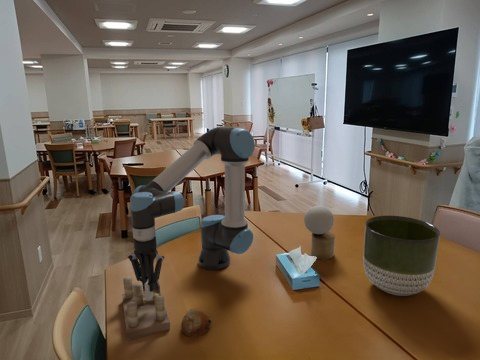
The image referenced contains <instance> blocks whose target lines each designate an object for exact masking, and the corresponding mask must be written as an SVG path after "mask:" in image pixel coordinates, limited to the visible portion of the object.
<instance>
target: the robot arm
mask: <svg viewBox="0 0 480 360" xmlns="http://www.w3.org/2000/svg"><path fill="white" fill-rule="evenodd" d="M252 134H253V133H251V132H250V131H249V130H247V129H246V128H240V127H225V126H224V127H223V126H218V127H213V128H212V129H209V130H208V131H206V132H204V133H203V134H202V135H201V136H199V137H198V138H197V139H196V140H194V141H193V145H192V146H191V147H190V148H188V150H186V151H184V153H183V154H182V155H180V156H179V157H178V158H177V159H175V160H174V161H173V162H172V163H171V164H169V166H167V167H166V168H165V169H164V170H162V172H161V173H160V174H158V175H157V176H156V177H155V178H154V179H153V180H151V181H150V182H148V184H145V185H139V186H137V187H136V188H135V189H134V191H133V194H132V195H131V196H130V199H129V201H130V202H129V203H130V205H129V206H130V207H129V209H130V214H131V215H130V217H131V218H130V219H131V225H132V227H131V230H132V237H133V248H134V250H133V252H132V253H130V254H129V255H128V257H127V258H128V260H129V262H130V263H131V266H132V270H133V273H134V275H135V278H136V280H137V282H140V283H142V290H143V291H145V297H146V300H147V301H150V300H151V299H152V297H153V290H154V289H155V288H154V283H156V282H157V281H158V282H159V279H160V276H161V271H162V264H163V261H164V260H165V256H164V255H162V256H161V255H160V254H159V252H158V250H157V247H158V246H157V237H156V235H157V234H156V233H157V232H156V219H157V218H161V217H165V216H168V215H171V214H175V213H177V212H181V211H182V210H184V207H185V199H184V196H183V194H182V193H181V192H179V191H178V190H177V191H175V190H174V191H171V190H173V188H175V186H177V185H178V184H179V183H180V182H181V181H183V179H184V178H186V177H187V176H188V175H189V174H190V173H192V172H193V170H195V169H196V168H197V167H198V166H199V165H200V164H201V163H203V161H205V160H209V159H210V158H211V157H212V156H215V155H220V161H221V163H223V165H224V215H223V214H212V215H207V216H205V217H203V218H202V219H200V239H201V241H200V242H201V249H200V252H199V256H198V265H199V266H200V268H202V269H204V270H209V271H210V270H211V271H218V270H222V269H225V268H226V267H228V266H229V265H230V264H231V256H230V253H233V254H237V255H242V254H244V253H246V252H247V251H248V250H249V249H250V248H251V246H252V244H253V240H254V232H253V231H252V230H251V229H250V228H249V222H248V220H247V219H246V218H245V210H246V209H245V205H246V204H245V197H246V195H245V194H246V191H245V190H246V189H245V188H246V187H245V186H246V183H245V182H246V164H247V163H248V162H249V160H250V159H249V158H250V157H251V156H252V155H253V153H254V152H255V147H256V144H255V139H254V136H253V135H252ZM229 252H230V253H229ZM154 262H156V263H155V267H154Z"/></svg>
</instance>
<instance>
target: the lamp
mask: <svg viewBox="0 0 480 360" xmlns="http://www.w3.org/2000/svg"><path fill="white" fill-rule="evenodd" d="M334 221H335V219H334V215H333V213H332V211H331V210H330V209H329V208H327V207H326V206H323V205H314V206H312V207H310V208H308V209H307V211H306V212H305V214H304V218H303V222H304V226H305V227H306V230H307V231H309V232H311V242H310V243H311V245H310V246H311V247H310V255H311V254H312V255H311V256H312V257H313V256H316V257H317V258H318V260H323V259H327V260H330V259H329V258H331V259H333V258H334V257H335V246H336V245H335V244H336V243H335V242H336V234H334V233H333V232H330V231H331V230H332V228H333V226H334V224H335V223H334ZM333 256H334V257H333ZM332 257H333V258H332ZM317 258H316V259H317Z"/></svg>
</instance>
